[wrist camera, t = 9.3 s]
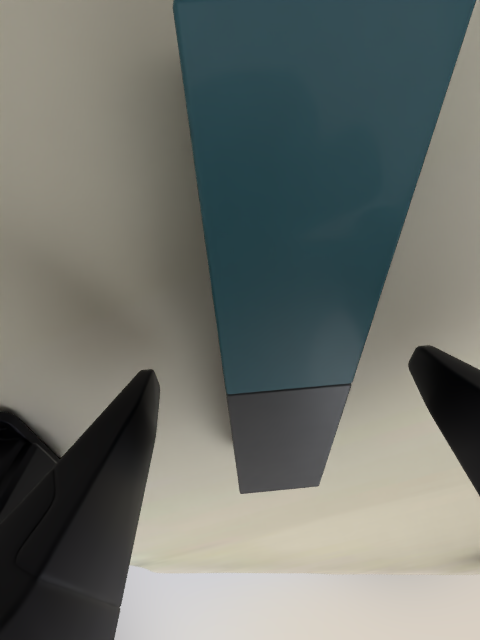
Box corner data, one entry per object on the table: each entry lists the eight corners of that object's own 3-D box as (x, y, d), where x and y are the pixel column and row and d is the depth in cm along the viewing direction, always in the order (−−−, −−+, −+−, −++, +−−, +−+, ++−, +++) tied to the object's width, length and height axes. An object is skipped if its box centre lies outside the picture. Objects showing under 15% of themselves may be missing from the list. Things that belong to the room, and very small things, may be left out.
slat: (305, 438, 15) (319, 486, 13) (237, 445, 15) (240, 494, 13) (384, 33, 5) (486, -23, 3) (188, 45, 5) (170, -6, 3)
